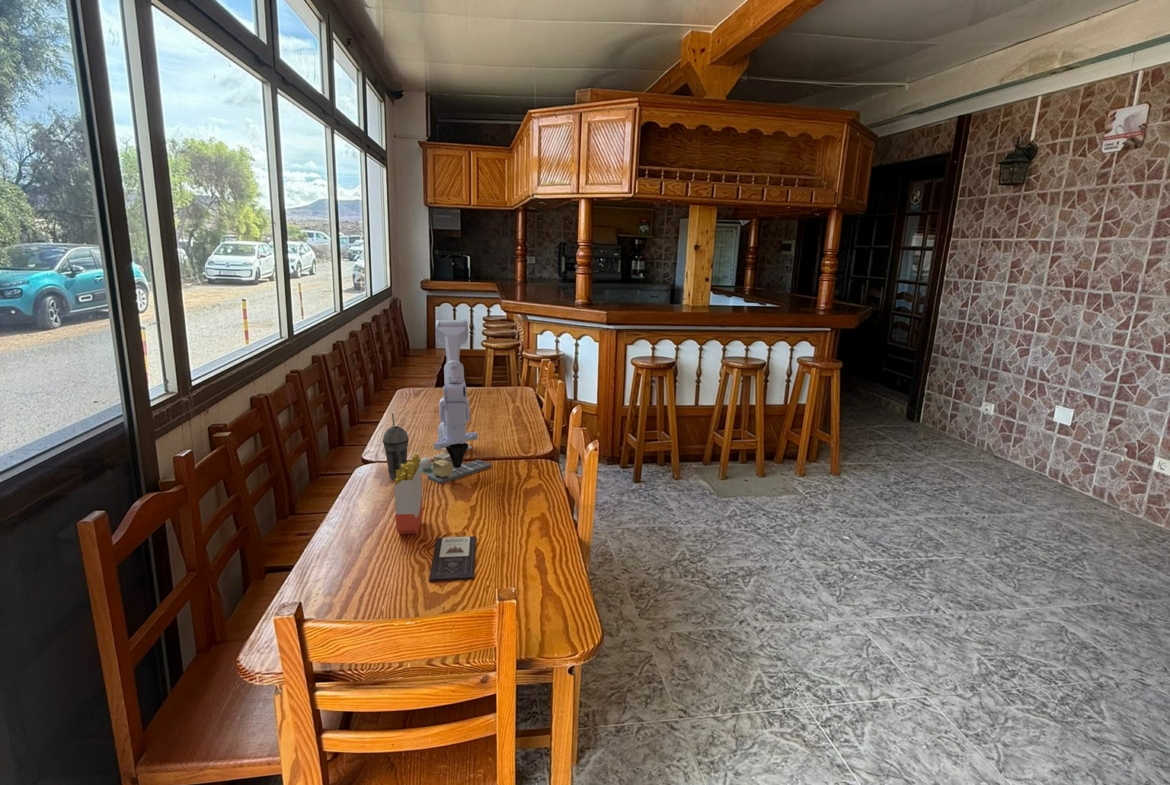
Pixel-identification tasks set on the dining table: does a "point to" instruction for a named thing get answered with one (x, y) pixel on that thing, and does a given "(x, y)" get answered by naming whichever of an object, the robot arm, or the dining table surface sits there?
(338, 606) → the dining table surface
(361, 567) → the dining table surface
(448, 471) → the tan cardboard cube
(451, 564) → the chocolate bar
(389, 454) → the beverage cup
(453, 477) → the board
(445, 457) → the birch block
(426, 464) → the grey ball
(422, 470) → the slate mat
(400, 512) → the french fries container
